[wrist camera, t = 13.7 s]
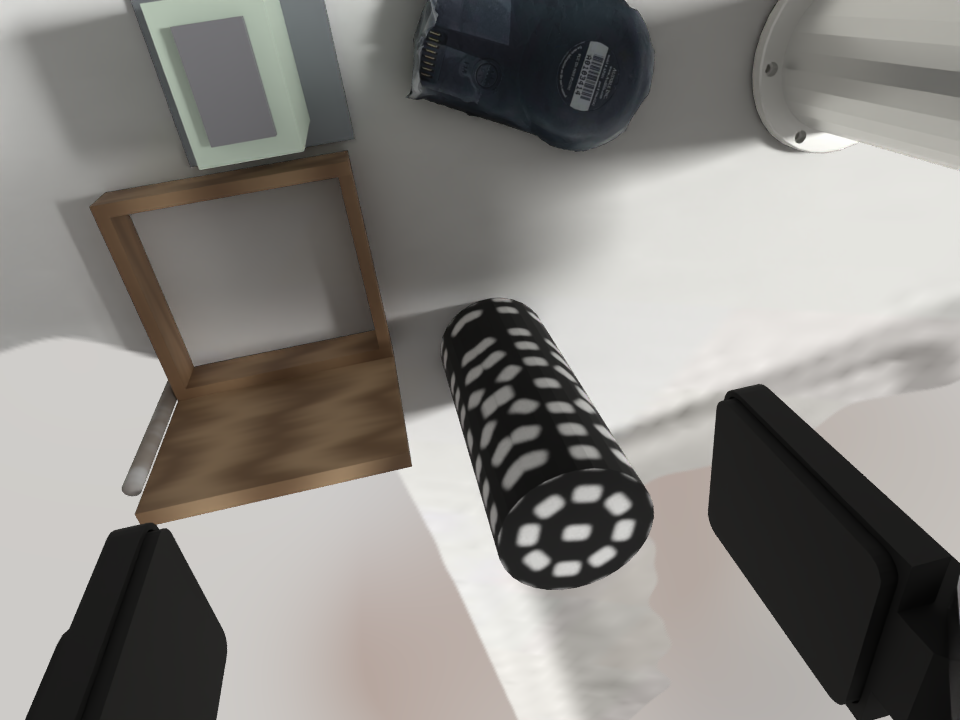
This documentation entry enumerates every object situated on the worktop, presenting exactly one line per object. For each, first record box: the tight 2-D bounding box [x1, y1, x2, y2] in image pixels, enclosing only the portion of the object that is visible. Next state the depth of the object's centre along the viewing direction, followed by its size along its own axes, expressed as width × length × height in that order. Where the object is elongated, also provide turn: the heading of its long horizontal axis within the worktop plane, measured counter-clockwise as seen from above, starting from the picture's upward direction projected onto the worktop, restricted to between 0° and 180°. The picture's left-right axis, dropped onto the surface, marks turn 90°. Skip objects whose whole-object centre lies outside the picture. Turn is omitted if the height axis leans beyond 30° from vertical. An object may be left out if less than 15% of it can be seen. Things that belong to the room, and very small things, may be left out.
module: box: [140, 0, 310, 170], centre depth 32 cm, size 5×7×10 cm
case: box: [90, 151, 412, 525], centre depth 37 cm, size 16×15×14 cm
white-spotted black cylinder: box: [441, 298, 654, 590], centre depth 41 cm, size 8×8×20 cm
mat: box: [131, 0, 355, 167], centre depth 37 cm, size 10×10×1 cm
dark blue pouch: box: [406, 0, 655, 152], centre depth 38 cm, size 9×6×15 cm
